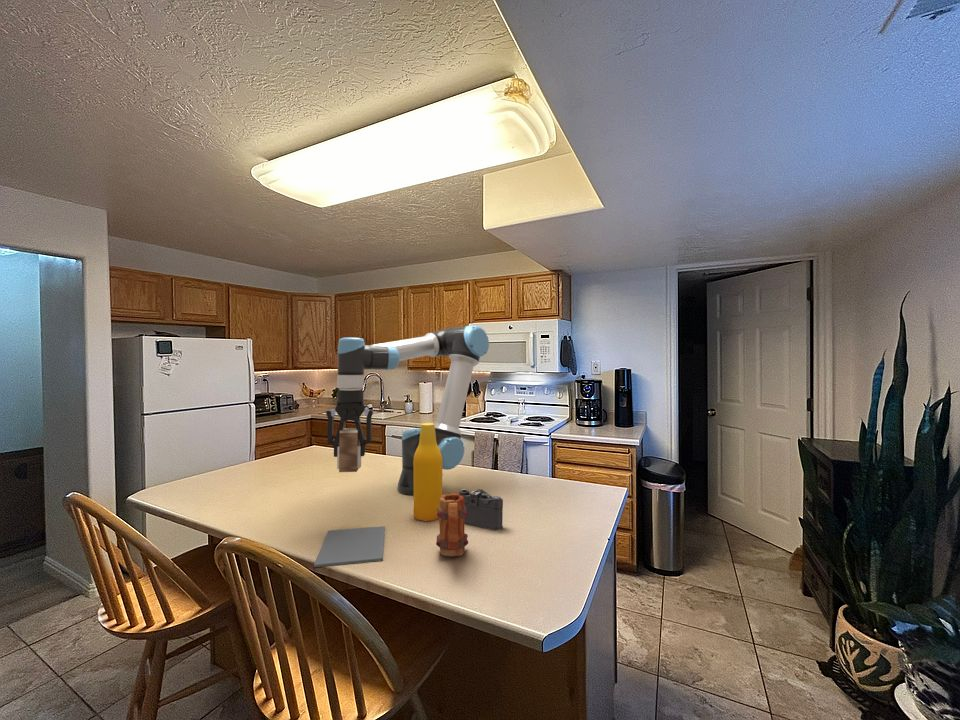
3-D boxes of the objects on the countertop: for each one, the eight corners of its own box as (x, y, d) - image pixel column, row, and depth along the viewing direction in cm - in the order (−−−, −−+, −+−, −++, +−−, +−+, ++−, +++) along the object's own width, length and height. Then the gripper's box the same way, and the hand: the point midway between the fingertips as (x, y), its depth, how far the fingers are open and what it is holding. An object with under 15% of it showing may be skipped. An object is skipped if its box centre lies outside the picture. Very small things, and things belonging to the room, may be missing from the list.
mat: (385, 527, 120) (385, 525, 120) (382, 560, 100) (382, 558, 100) (328, 532, 117) (328, 530, 117) (313, 567, 97) (313, 564, 97)
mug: (436, 545, 109) (436, 488, 109) (467, 543, 109) (466, 487, 109) (435, 573, 94) (434, 508, 94) (470, 571, 95) (470, 507, 95)
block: (359, 467, 125) (359, 428, 125) (356, 471, 120) (357, 430, 120) (342, 468, 124) (342, 428, 124) (338, 472, 119) (339, 430, 119)
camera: (512, 518, 127) (512, 486, 127) (498, 532, 117) (498, 497, 117) (471, 511, 133) (471, 481, 133) (455, 523, 123) (454, 490, 123)
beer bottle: (407, 518, 127) (407, 425, 127) (422, 508, 135) (422, 421, 135) (434, 523, 123) (433, 427, 123) (447, 512, 132) (447, 422, 132)
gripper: (382, 388, 127) (381, 463, 127) (321, 388, 124) (320, 465, 124) (380, 390, 120) (379, 469, 119) (315, 390, 117) (314, 471, 117)
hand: (349, 467), depth 122 cm, fingers closed on block, 5 cm apart
